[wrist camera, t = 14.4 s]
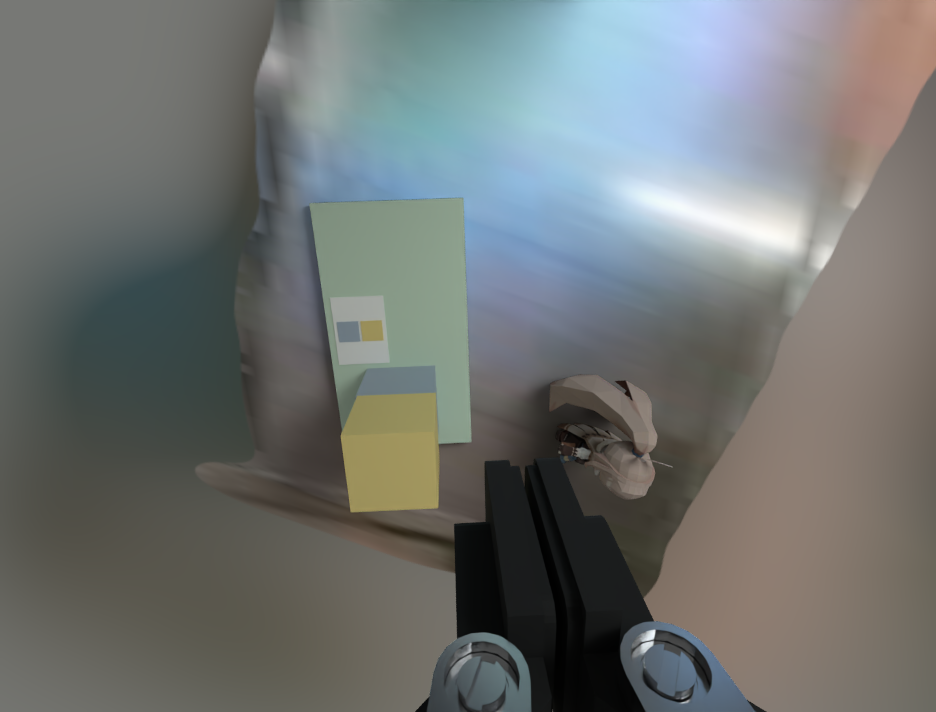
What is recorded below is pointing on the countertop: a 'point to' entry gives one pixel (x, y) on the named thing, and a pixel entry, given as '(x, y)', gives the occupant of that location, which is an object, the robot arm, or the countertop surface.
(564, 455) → the toy
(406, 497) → the brick
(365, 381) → the base brick
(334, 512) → the countertop surface
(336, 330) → the board
